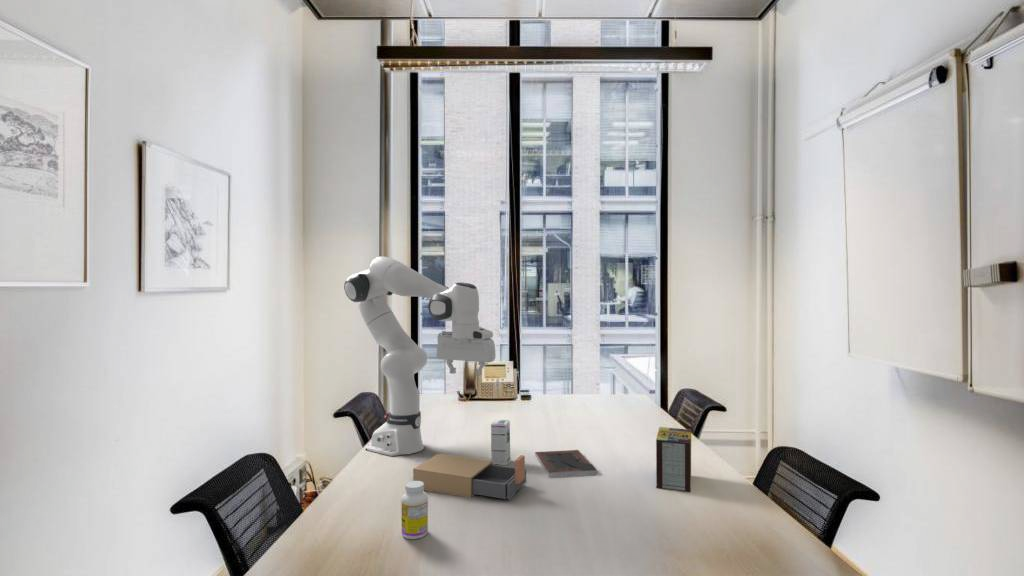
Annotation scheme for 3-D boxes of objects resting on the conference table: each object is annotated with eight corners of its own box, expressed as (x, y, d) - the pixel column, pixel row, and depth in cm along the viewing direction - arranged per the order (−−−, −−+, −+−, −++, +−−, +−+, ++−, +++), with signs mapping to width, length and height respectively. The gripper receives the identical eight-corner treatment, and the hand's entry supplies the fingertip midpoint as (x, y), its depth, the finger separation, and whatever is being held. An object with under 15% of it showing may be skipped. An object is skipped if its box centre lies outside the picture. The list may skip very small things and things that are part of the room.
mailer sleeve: (413, 487, 166) (413, 468, 166) (438, 471, 181) (438, 453, 181) (470, 497, 158) (470, 477, 158) (492, 479, 173) (492, 460, 173)
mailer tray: (446, 489, 162) (446, 456, 162) (467, 473, 176) (467, 443, 176) (513, 500, 154) (513, 465, 154) (529, 483, 167) (529, 451, 167)
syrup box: (507, 465, 186) (507, 424, 186) (490, 464, 187) (490, 423, 187) (510, 460, 192) (510, 420, 192) (494, 459, 193) (494, 419, 193)
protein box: (691, 475, 177) (691, 429, 177) (690, 492, 162) (691, 442, 162) (658, 471, 180) (658, 426, 180) (655, 488, 166) (655, 438, 166)
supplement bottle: (403, 528, 138) (403, 479, 138) (428, 527, 139) (428, 478, 139) (399, 541, 132) (399, 489, 132) (426, 540, 132) (426, 488, 132)
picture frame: (596, 476, 178) (578, 455, 199) (596, 469, 178) (578, 449, 199) (548, 479, 175) (535, 458, 196) (548, 472, 175) (535, 451, 196)
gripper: (432, 331, 175) (432, 373, 175) (489, 334, 168) (489, 378, 168) (442, 330, 181) (442, 370, 181) (497, 332, 173) (497, 374, 174)
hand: (465, 374), depth 174 cm, fingers open, 8 cm apart
